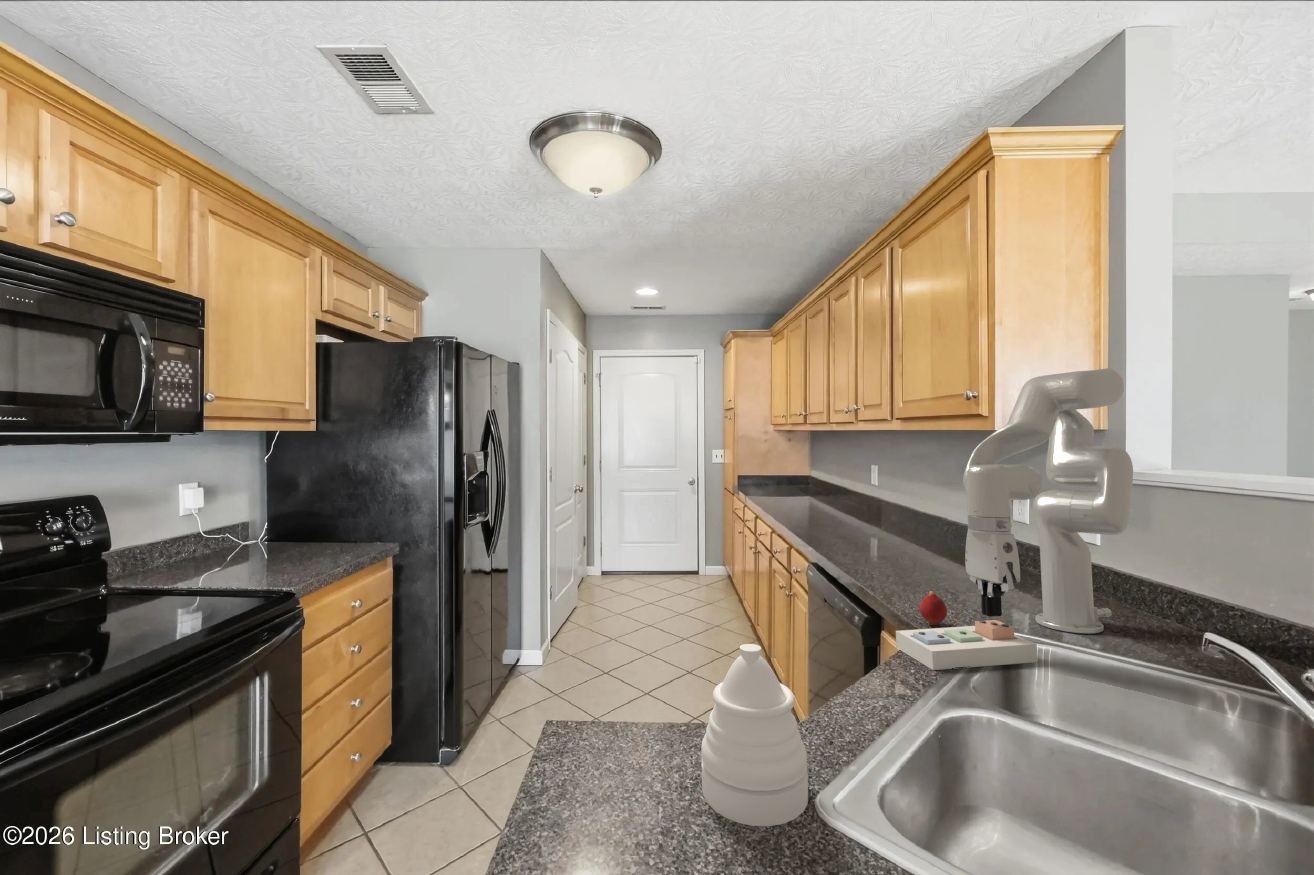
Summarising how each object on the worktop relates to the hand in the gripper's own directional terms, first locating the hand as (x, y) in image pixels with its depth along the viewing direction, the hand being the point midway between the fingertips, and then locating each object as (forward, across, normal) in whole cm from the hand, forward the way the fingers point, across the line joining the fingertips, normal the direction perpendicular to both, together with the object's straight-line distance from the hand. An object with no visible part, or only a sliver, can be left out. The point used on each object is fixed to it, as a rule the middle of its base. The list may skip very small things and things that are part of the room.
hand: (991, 615), depth 107 cm
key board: (+8, 0, +6) cm, 10 cm away
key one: (+7, 0, +6) cm, 9 cm away
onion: (+8, +18, 0) cm, 20 cm away
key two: (+7, 0, +13) cm, 15 cm away
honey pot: (+10, -35, +62) cm, 71 cm away
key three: (+5, 0, -1) cm, 5 cm away
